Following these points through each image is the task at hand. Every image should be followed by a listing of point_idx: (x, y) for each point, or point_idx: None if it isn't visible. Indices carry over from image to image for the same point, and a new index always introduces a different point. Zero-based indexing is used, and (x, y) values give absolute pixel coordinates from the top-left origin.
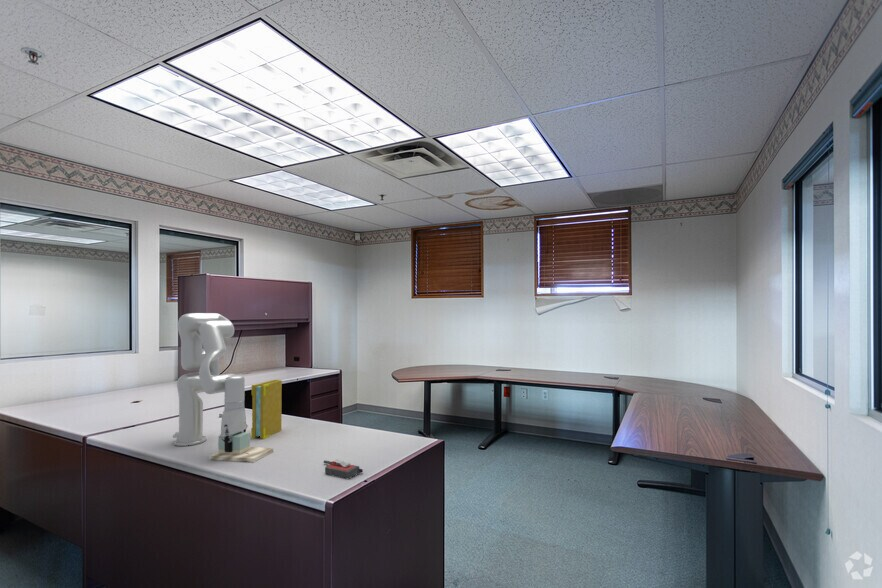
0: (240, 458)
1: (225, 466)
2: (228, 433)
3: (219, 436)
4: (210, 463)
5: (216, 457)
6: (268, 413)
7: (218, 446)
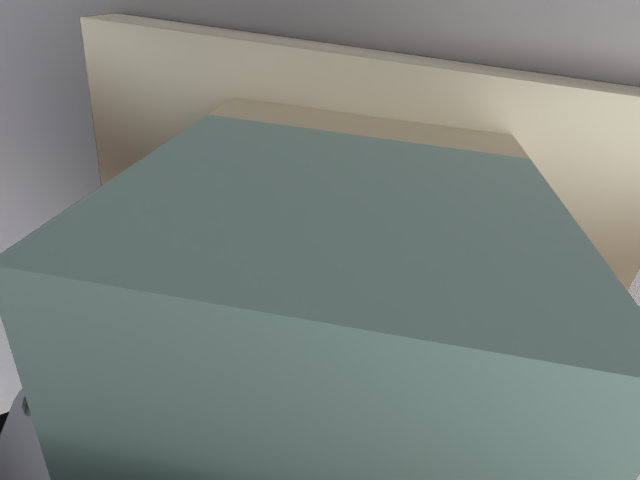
0: None
1: (6, 344)
2: (389, 465)
3: (11, 293)
4: (7, 134)
5: (108, 153)
6: None
7: (183, 133)
